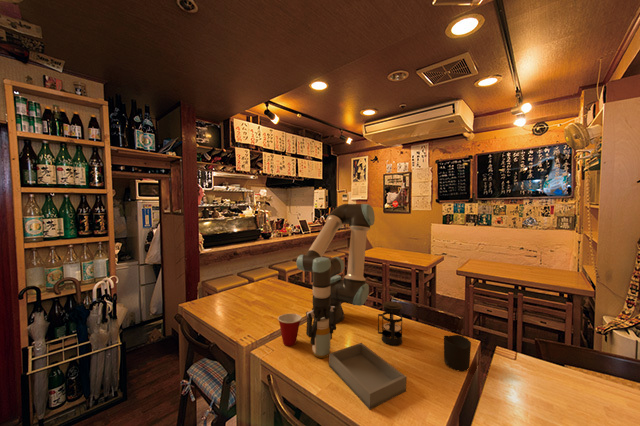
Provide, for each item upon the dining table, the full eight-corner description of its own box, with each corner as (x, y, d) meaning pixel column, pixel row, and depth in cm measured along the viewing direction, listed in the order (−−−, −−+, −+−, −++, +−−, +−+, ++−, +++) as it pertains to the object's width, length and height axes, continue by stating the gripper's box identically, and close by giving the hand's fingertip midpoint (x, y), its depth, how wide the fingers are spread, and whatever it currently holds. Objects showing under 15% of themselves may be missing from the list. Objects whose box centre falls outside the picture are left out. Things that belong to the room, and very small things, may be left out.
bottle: (310, 356, 104) (310, 320, 103) (317, 347, 110) (317, 313, 110) (326, 360, 101) (326, 323, 101) (332, 350, 108) (332, 316, 107)
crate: (361, 354, 106) (361, 342, 106) (406, 391, 85) (406, 376, 85) (329, 366, 98) (329, 353, 98) (369, 409, 77) (369, 393, 77)
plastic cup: (303, 337, 120) (303, 312, 119) (299, 350, 109) (299, 322, 109) (281, 335, 121) (281, 311, 120) (274, 348, 110) (274, 321, 110)
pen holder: (445, 354, 106) (446, 331, 106) (471, 363, 101) (471, 338, 100) (441, 366, 99) (441, 341, 98) (469, 375, 93) (469, 349, 93)
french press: (402, 336, 120) (403, 289, 120) (405, 347, 111) (406, 296, 111) (377, 334, 123) (378, 287, 122) (378, 344, 114) (378, 294, 113)
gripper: (335, 288, 113) (335, 339, 114) (297, 296, 104) (297, 351, 104) (345, 294, 106) (344, 347, 107) (305, 302, 97) (305, 361, 98)
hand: (321, 349), depth 106 cm, fingers closed on bottle, 6 cm apart
